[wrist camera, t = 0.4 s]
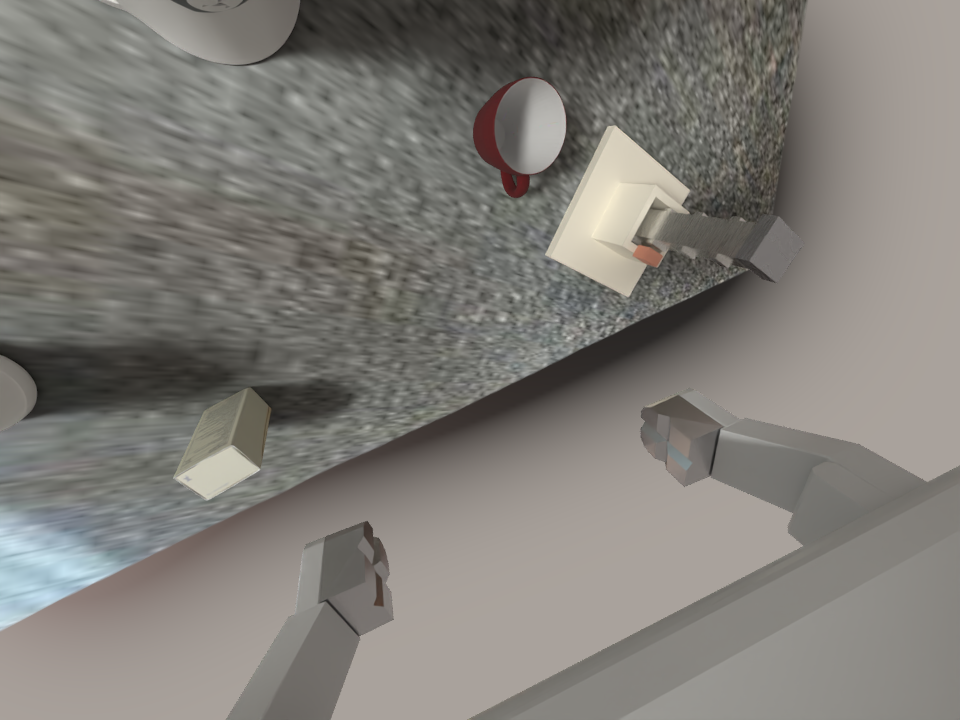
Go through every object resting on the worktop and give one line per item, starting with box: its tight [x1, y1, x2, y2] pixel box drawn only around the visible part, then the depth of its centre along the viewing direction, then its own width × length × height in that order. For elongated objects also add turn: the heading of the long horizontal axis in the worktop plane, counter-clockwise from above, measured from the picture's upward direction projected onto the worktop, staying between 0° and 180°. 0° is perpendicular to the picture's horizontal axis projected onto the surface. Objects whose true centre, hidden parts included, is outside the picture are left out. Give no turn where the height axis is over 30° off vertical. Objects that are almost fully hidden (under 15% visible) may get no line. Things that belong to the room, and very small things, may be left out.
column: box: [631, 208, 804, 283], centre depth 45 cm, size 6×5×24 cm
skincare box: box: [174, 387, 271, 500], centre depth 41 cm, size 6×4×12 cm
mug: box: [473, 77, 567, 198], centre depth 39 cm, size 11×8×10 cm
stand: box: [545, 126, 690, 297], centre depth 51 cm, size 18×18×10 cm
